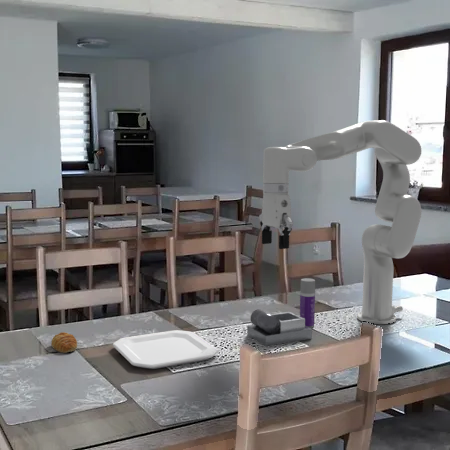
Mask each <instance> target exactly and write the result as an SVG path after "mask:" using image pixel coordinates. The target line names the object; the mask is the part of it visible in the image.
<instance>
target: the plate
mask: <svg viewBox="0 0 450 450" xmlns="http://www.w3.org/2000/svg"><path fill="white" fill-rule="evenodd" d="M112 347H113V348H114V349H115V350H116V351H118V353H119V354H121V356H122V357H124V358H125V360H127V361H128V363H130V364H131V365H132V366H134V367H136V368H137V367H138V368H142V369H149V370H155V369H161V368H168V367H169V368H170V367H173V366H178V365H179V366H180V365H185V364H190V363H195V362H202V361H205V360H208V359H211V358H213V357H215V355H217V353H218V352H219V349H218V348H217V347H216V346H214V345H212V344H211V343H209V342H208V341H206V340H205V339H204V338H202V337H201V336H199V335H197V334H196V333H195V332H193V331H188V330H181V329H180V330H179V329H178V330H177V329H175V330H166V331H161V332H160V331H159V332H154V333H147V334H140V335H133V336H126V337H121V338H119V339H118V340H115V342H113V343H112Z"/></svg>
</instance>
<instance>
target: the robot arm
mask: <svg viewBox="0 0 450 450" xmlns="http://www.w3.org/2000/svg"><path fill="white" fill-rule="evenodd" d="M368 149H374V154H375V157H376V159H377V160H378V162H379V163H380V166H381V169H382V173H383V174H382V175H383V177H382V178H383V179H382V182H381V185H380V190H379V192H378V193H379V194H378V196H377V198H376V199H377V200H376V203H375V207H374V212H375V216H376V218H378V220H381V221H383V222H388V223H391V226H389V225H384V224H377V223H376V224H371V225H369V226H367V227H366V228H365V229H364V230H363V233H362V236H361V247H362V253H363V278H362V279H363V280H362V303H361V304H362V306H361V311H360V312H358V313H357V316H356V318H357V320H359V321H361V322H363V321H367V322H369V323H368V324H371V323H372V324H373V323H374V324H373V325H389V324H388V323H390V324H394V323H395V322H397V316H396V315H395V314H396V313H400V312H403V310H404V309H403V306H402V305H398V306H395V305H394V304H393V287H394V286H393V285H394V272H395V271H394V263H393V259H397V260H398V259H403V258H405V257H406V256H407V255H408V254H409V253H410V252H411V249H412V247H413V245H414V242H415V238H416V234H417V232H418V228H419V224H420V221H421V218H422V206H421V202H420V200H418V199H417V198H416V197H415V196H413V195H410V194H408V191H409V187H410V182H411V176H410V171H409V169H408V165H413V164H415V163H417V162H418V160H419V159H420V158H421V155H422V146H421V143H420V142H419V140H418V139H417V138H415V137H414V136H412V135H411V134H409V133H408V132H407V131H405V130H403V129H402V128H400V127H399V126H397V125H395V124H393V123H392V122H390V121H388V120H384V119H381V120H365V121H360V122H357V123H354V124H352V125H349V126H347V127H343V128H340V129H337V130H334V131H332V132H327V133H323V134H320V135H317V136H313V137H309V138H306V139H302V140H300V141H296V142H293V143H290V144H288V145H285V146H269V147H266V148H264V149H263V164H262V165H263V168H262V169H263V170H262V171H263V172H262V173H263V174H262V175H263V178H262V182H263V183H262V185H263V186H262V194H263V196H262V205H261V213H260V214H259V216H258V218H259V224H260V226H261V227H260V230H261V244H262V245H268V244H272V242H273V241H272V240H273V239H272V238H273V237H272V234H273V231H272V228H274V229H278V232H279V234H280V235H279V234H278V249H280V250H284V249H285V250H286V249H289V248H290V236H291V232H292V230H293V225H294V221H293V220H292V205H291V203H292V202H291V198H290V194H289V192H290V191H289V190H290V189H289V188H290V187H289V186H290V185H289V181H290V180H289V179H290V174H289V173H290V172H292V171H293V172H299V173H305V172H308V171H311V170H312V169H314V167H315V166H316V164H317V162H319V161H320V162H321V161H332V160H338V159H344V158H345V157H348V156H351V155H353V154H357V153H360V152H362V151H365V150H368ZM393 322H394V323H393ZM372 324H371V325H372Z"/></svg>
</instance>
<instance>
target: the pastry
mask: <svg viewBox="0 0 450 450" xmlns="http://www.w3.org/2000/svg"><path fill="white" fill-rule="evenodd" d="M50 344H51V347H52V349H54V350H55V351H57V352H59V353H63V354H67V353H69V352H70V353H71V352H76V350H77V348H78V340H77V339H76V337H75V335H73V334H71V333H69V332H65V331H62V332H59V333H58V334H55V335H54V336H53V337H52V339H51V343H50Z"/></svg>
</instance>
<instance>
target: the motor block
mask: <svg viewBox="0 0 450 450" xmlns="http://www.w3.org/2000/svg"><path fill="white" fill-rule="evenodd" d="M250 323H251V324H250V325H247V326H246V329H247V330H246V331H247V332H246V335H247V336H248V338H249V337H250V338H251V339H253V340H255V342H258V343H259V344H261V345H263V346H264V347H268V346H275V345H276V346H277V345H282V344H286V343H294V342H299V341H306V340H311V339H313V329H312V328H309V327H307V326H305V318H302V317H300V315H298V314H296V313H294V312H291V311H285V312H279V313H278V312H277V313H269V312H266V311H264V310H262V309H256V310H255V309H254V311H252V313H251V314H250Z"/></svg>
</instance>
